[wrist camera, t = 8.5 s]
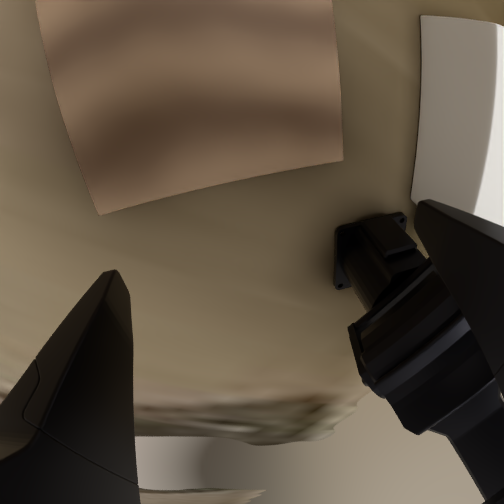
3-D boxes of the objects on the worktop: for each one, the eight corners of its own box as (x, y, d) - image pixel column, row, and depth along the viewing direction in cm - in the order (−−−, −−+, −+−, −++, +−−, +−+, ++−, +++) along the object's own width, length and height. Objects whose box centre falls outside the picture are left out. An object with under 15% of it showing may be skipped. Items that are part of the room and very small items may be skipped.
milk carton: (551, 47, 10) (501, 269, 21) (481, 30, 15) (457, 225, 27) (496, 20, 9) (447, 291, 21) (418, 13, 14) (402, 237, 26)
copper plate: (336, 155, 20) (343, 160, 20) (102, 208, 19) (99, 215, 19) (300, -116, 8) (306, -122, 7) (35, -64, 7) (28, -67, 6)
